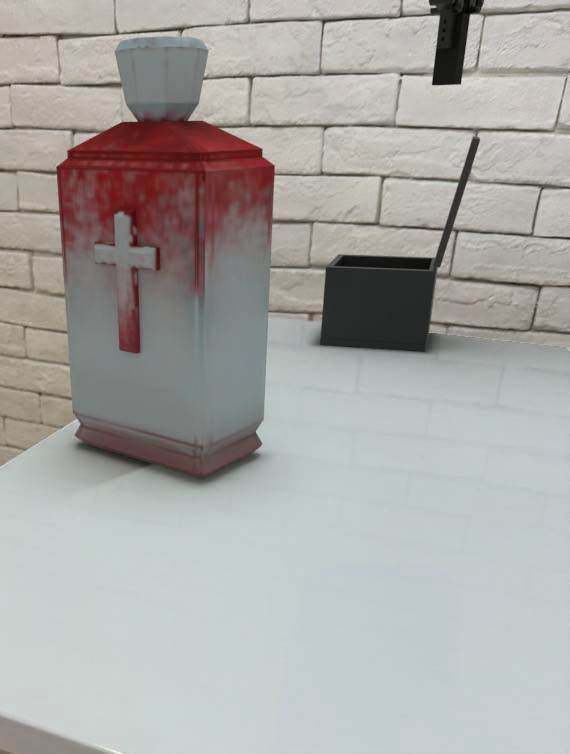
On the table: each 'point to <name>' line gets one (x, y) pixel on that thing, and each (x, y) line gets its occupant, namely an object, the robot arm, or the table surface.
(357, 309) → the black storage bin
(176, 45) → the bottle
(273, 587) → the table surface
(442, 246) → the lid
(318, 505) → the table surface
